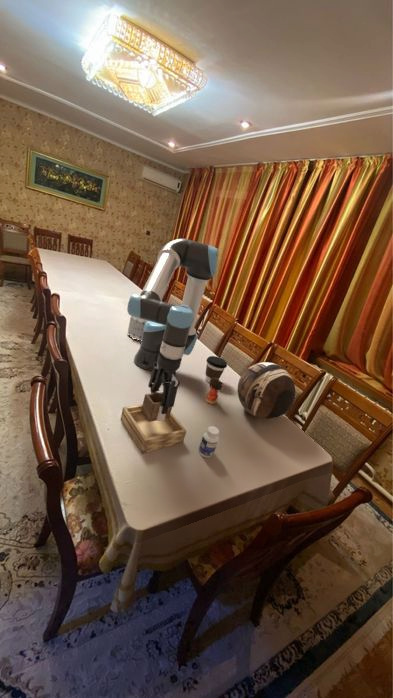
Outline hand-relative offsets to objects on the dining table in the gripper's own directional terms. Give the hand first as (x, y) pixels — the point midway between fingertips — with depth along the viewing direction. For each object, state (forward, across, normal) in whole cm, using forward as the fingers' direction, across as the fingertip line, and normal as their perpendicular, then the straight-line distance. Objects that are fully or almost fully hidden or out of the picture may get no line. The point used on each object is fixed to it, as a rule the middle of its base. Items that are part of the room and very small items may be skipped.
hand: (155, 413), depth 101 cm
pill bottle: (+7, +16, +13) cm, 22 cm away
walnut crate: (0, 0, 0) cm, 0 cm away
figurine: (+7, -10, +36) cm, 38 cm away
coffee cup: (+7, -26, +49) cm, 56 cm away
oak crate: (+7, 0, 0) cm, 7 cm away
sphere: (+7, +4, +53) cm, 54 cm away
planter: (+7, -82, +34) cm, 90 cm away
